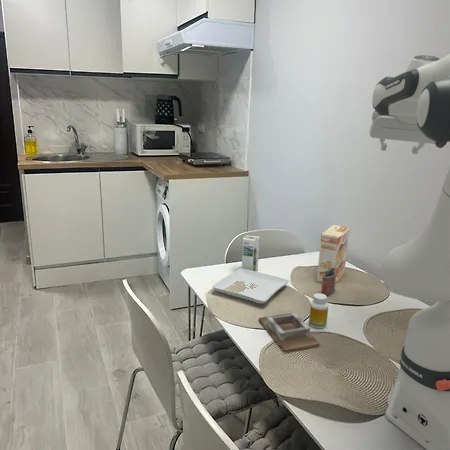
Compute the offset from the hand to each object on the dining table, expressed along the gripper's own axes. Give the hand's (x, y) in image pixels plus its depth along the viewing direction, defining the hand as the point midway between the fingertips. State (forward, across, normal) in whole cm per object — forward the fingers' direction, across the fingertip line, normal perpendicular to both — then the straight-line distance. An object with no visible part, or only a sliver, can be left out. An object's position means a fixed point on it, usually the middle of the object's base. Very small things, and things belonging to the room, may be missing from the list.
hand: (398, 151), depth 133 cm
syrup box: (+55, -45, -13) cm, 72 cm away
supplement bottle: (+38, -17, -44) cm, 61 cm away
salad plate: (+48, -41, -28) cm, 69 cm away
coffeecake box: (+55, -13, -9) cm, 57 cm away
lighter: (+48, -14, -22) cm, 55 cm away
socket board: (+36, -26, -51) cm, 67 cm away
